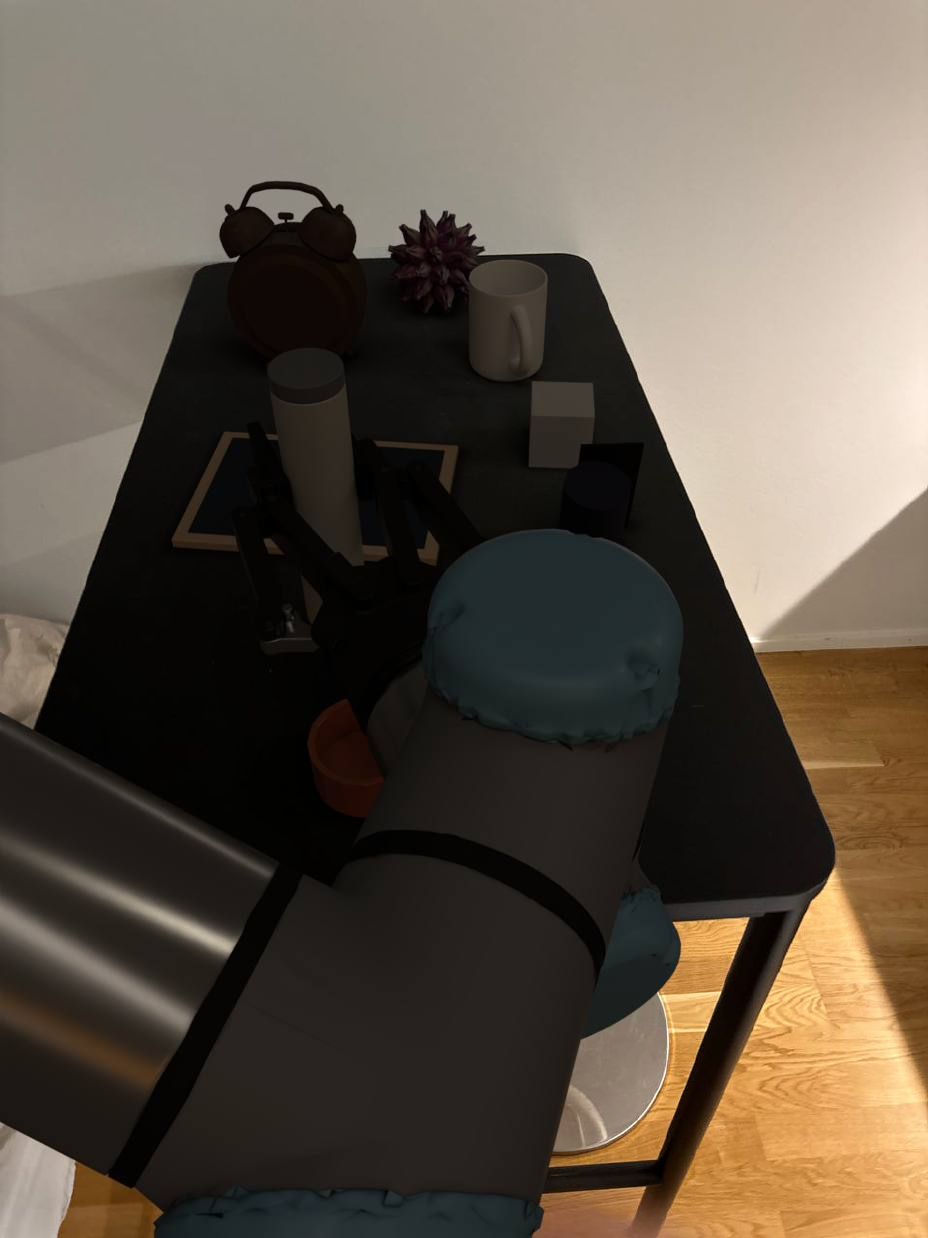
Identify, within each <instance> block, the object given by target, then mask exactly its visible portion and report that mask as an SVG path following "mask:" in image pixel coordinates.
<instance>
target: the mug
mask: <svg viewBox="0 0 928 1238" xmlns="http://www.w3.org/2000/svg"><path fill="white" fill-rule="evenodd" d="M548 280H549V277H548V275H547V273H546V271H545V270H544V269H543V268H542V267H540V266H538V265H537V264H534V263H532V262H529V261H524V260H520V259H497V260H490V261H487V262H484V263H481V265H479V266H477V267H476V268H474V269H473V270H472V272H471V273H470V275H469V281H468V282H469V299H468V354H469V355H468V356H469V362H470V363H469V364H470V365H471V368H472V369H473V371H474V372H476V373H477V374H478V375H480V376H481V377H483V378H485V379H487V380H490V381H494V382H495V381H496V382H502V383H504V382H505V383H512V382H519V381H522V380H525V379H528V378H530V377H532V376H533V375H535V374H536V373H537V372H538V371H539V370H540V368H541V366H542V363H543V360H544V351H545V350H544V348H545V335H546V333H545V331H546V316H547V315H546V314H547V300H548V299H547V297H548Z"/></svg>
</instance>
